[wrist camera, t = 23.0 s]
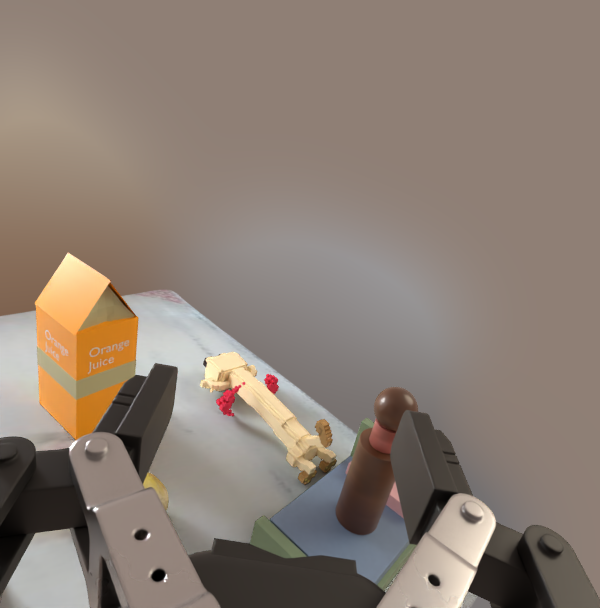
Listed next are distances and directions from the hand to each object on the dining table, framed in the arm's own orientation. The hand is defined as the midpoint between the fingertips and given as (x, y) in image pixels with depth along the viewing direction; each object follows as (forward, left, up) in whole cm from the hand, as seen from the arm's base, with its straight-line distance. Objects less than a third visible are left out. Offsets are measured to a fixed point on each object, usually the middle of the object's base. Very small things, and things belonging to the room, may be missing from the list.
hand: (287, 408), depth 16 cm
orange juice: (-39, +12, -32) cm, 52 cm away
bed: (-5, +24, -32) cm, 40 cm away
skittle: (-5, +24, -29) cm, 38 cm away
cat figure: (-24, +30, -32) cm, 50 cm away
